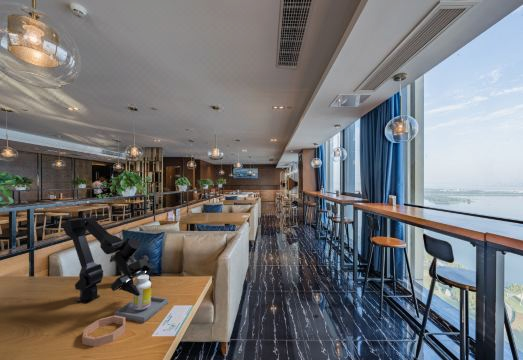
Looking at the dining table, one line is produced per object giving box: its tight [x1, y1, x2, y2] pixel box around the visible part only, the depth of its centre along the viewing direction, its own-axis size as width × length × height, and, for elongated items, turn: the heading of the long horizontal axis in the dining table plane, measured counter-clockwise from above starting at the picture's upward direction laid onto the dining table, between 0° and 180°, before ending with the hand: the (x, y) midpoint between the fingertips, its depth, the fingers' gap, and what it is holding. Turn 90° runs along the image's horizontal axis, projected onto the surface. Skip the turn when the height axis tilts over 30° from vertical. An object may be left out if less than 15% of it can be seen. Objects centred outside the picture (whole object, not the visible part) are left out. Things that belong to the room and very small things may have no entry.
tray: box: [113, 295, 169, 323], centre depth 97 cm, size 15×15×2 cm
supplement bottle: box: [133, 275, 152, 310], centre depth 97 cm, size 7×7×13 cm
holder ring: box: [81, 314, 127, 348], centre depth 82 cm, size 13×13×2 cm
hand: (145, 291), depth 97 cm, fingers closed on supplement bottle, 7 cm apart
